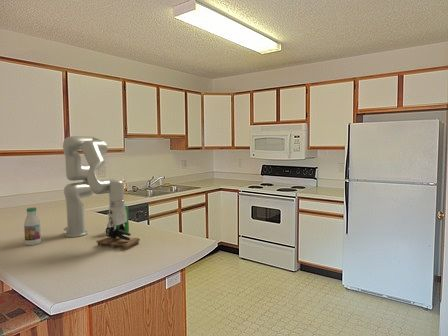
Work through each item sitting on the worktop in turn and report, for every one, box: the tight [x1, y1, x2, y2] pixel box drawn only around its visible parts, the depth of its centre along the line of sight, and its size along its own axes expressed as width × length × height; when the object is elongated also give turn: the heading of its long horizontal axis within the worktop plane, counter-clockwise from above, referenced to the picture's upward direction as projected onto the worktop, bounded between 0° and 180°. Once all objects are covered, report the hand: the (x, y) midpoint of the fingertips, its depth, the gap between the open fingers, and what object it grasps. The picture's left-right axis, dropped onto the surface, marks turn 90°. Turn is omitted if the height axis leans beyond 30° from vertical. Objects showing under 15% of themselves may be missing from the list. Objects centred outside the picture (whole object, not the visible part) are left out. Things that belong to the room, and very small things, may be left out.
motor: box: [113, 205, 130, 233], centre depth 203 cm, size 10×9×20 cm
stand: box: [95, 235, 141, 251], centre depth 177 cm, size 20×11×3 cm, turn 69°
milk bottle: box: [23, 206, 42, 246], centre depth 181 cm, size 8×8×20 cm
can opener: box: [105, 226, 132, 240], centre depth 176 cm, size 18×7×6 cm, turn 57°
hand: (117, 235), depth 177 cm, fingers closed on can opener, 6 cm apart
